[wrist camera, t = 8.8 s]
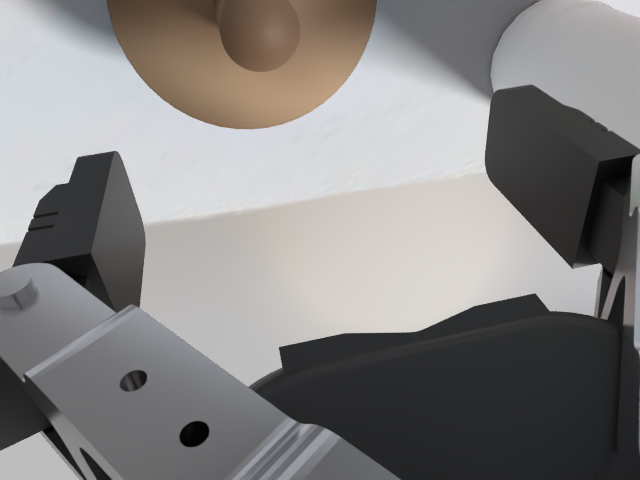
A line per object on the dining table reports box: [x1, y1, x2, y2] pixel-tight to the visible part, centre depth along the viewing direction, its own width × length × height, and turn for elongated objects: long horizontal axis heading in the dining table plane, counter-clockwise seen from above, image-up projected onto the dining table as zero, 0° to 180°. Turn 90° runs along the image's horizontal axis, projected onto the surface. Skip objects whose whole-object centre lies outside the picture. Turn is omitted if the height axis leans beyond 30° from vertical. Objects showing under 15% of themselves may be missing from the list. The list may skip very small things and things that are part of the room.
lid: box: [107, 0, 377, 129], centre depth 23 cm, size 12×12×6 cm
